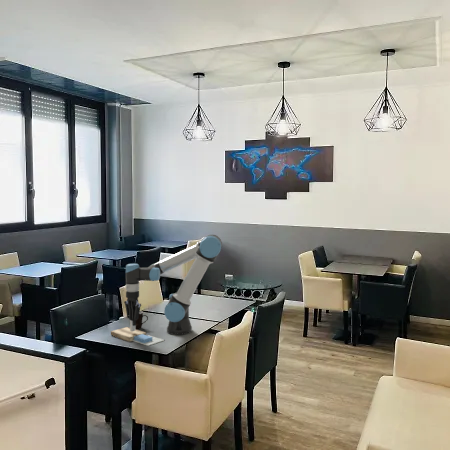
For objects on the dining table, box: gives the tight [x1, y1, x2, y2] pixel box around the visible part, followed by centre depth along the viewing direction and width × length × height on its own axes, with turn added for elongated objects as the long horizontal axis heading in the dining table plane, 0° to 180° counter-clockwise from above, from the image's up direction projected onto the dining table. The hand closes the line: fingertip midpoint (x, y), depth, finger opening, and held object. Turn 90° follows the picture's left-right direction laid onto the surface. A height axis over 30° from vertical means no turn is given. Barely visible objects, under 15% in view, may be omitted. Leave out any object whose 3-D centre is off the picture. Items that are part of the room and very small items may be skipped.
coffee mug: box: [136, 310, 149, 330], centre depth 277 cm, size 12×9×10 cm
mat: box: [131, 334, 165, 347], centre depth 253 cm, size 12×14×1 cm
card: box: [134, 334, 152, 343], centre depth 252 cm, size 9×6×2 cm, turn 49°
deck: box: [110, 326, 147, 343], centre depth 262 cm, size 12×18×2 cm, turn 49°
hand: (132, 330), depth 258 cm, fingers closed
